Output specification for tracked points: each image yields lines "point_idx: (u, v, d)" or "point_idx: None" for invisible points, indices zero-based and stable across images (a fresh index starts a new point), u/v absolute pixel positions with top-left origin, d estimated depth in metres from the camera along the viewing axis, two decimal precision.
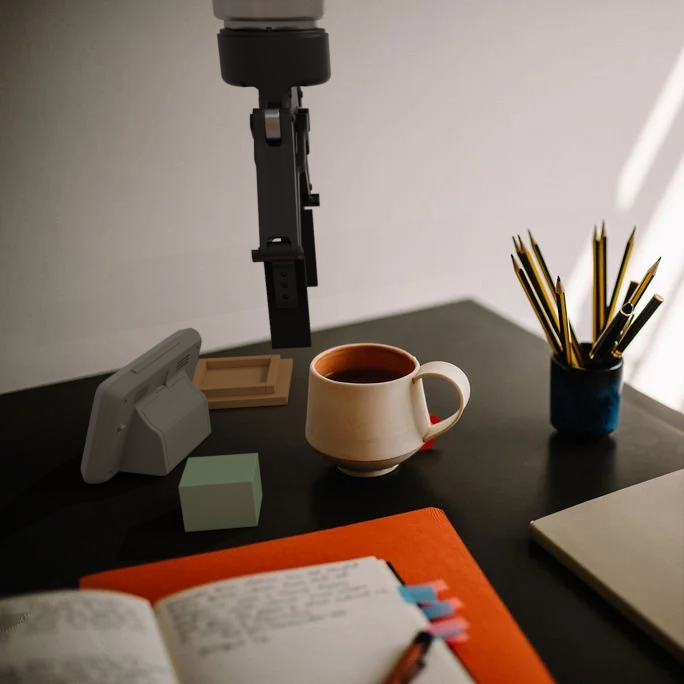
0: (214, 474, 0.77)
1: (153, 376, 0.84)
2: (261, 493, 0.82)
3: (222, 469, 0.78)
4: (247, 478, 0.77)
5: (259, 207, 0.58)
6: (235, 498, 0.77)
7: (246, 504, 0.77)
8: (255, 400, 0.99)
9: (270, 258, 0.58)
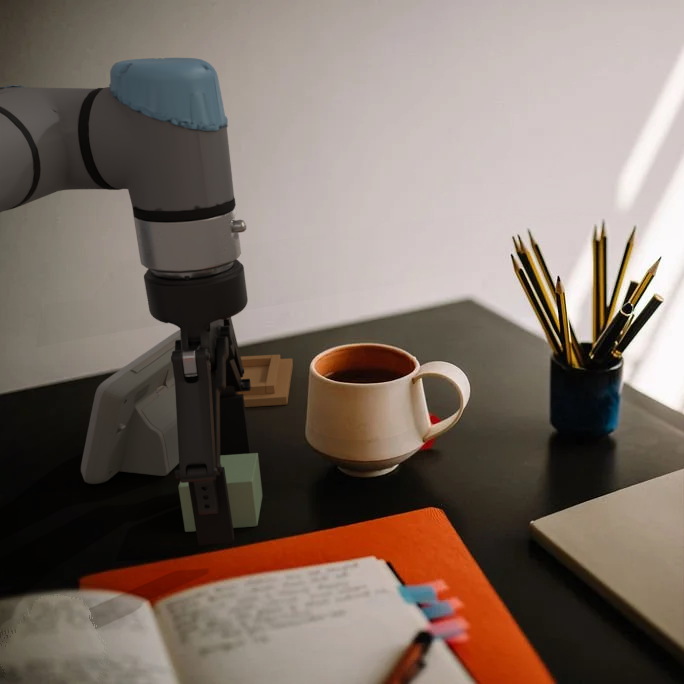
0: None
1: (153, 376, 0.84)
2: (261, 493, 0.82)
3: None
4: (247, 478, 0.77)
5: (179, 438, 0.67)
6: (235, 498, 0.77)
7: (246, 504, 0.77)
8: (255, 400, 0.99)
9: (189, 481, 0.67)
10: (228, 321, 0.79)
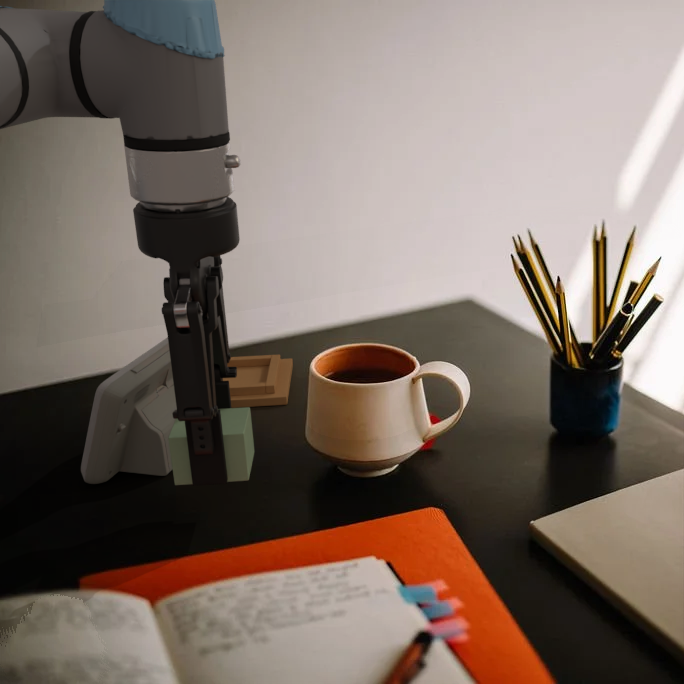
0: None
1: (153, 376, 0.84)
2: (253, 449, 0.80)
3: None
4: (239, 431, 0.75)
5: (175, 384, 0.68)
6: (226, 451, 0.75)
7: (238, 458, 0.75)
8: (255, 400, 0.99)
9: (186, 420, 0.70)
10: None
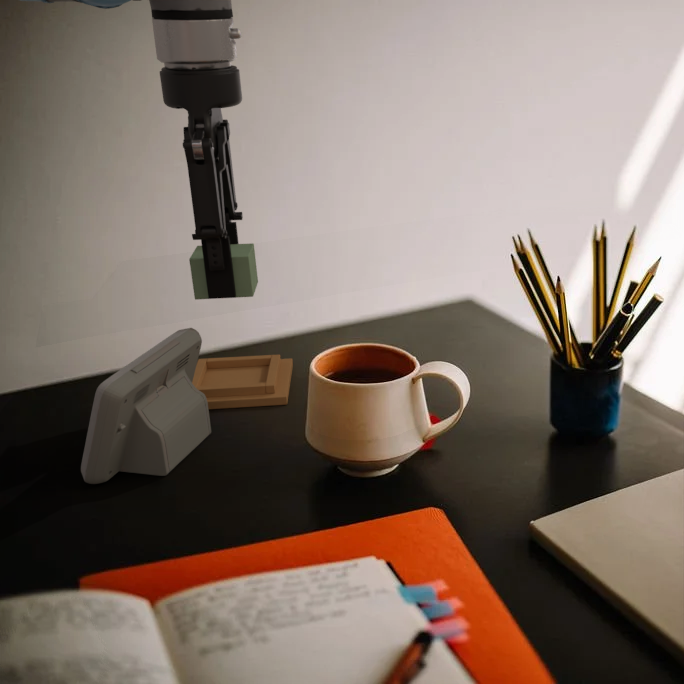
0: None
1: (153, 376, 0.84)
2: (257, 278, 1.00)
3: None
4: (245, 255, 0.95)
5: (193, 206, 0.88)
6: (235, 271, 0.95)
7: (244, 277, 0.95)
8: (255, 400, 0.99)
9: (203, 236, 0.90)
10: None
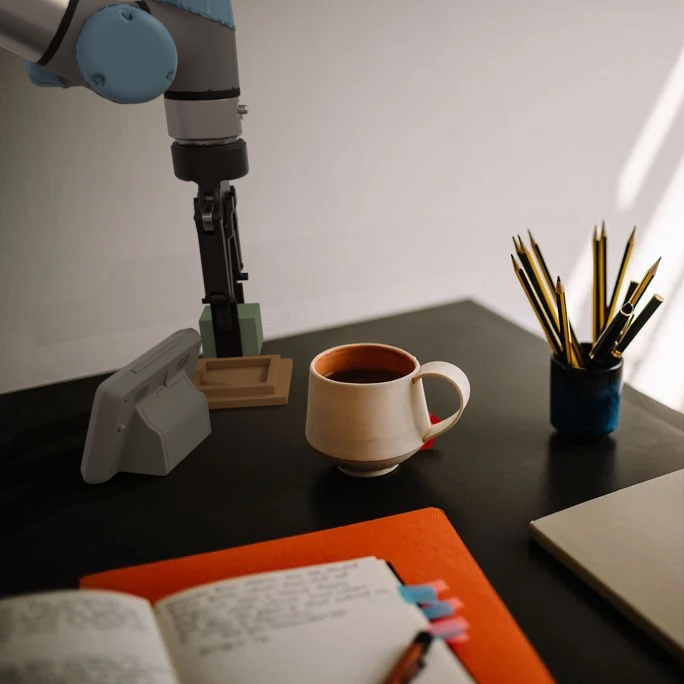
0: None
1: (153, 376, 0.84)
2: (262, 335, 1.04)
3: None
4: (251, 316, 0.99)
5: (203, 274, 0.93)
6: (242, 332, 0.99)
7: (251, 337, 1.00)
8: (255, 400, 0.99)
9: (212, 302, 0.94)
10: None
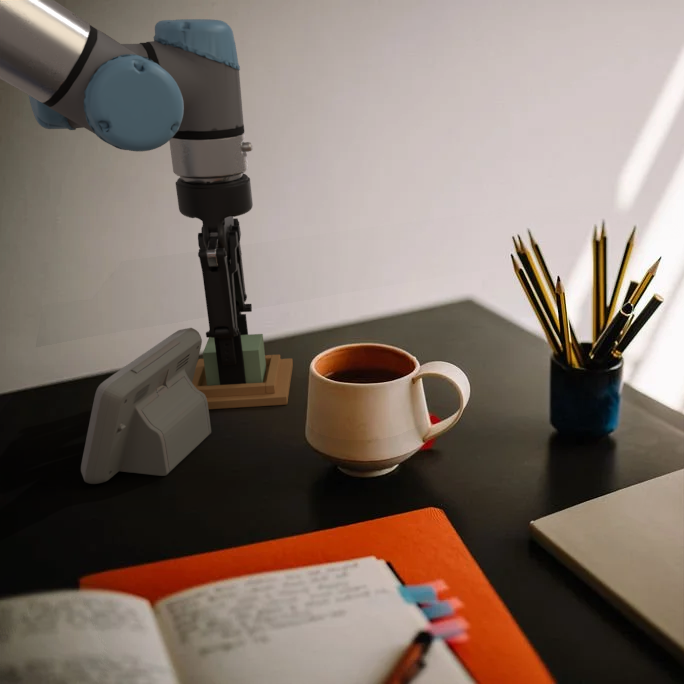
0: None
1: (154, 376, 0.84)
2: (265, 366, 1.06)
3: None
4: (255, 348, 1.01)
5: (208, 309, 0.94)
6: (245, 363, 1.01)
7: (254, 369, 1.01)
8: (255, 400, 0.99)
9: (216, 336, 0.95)
10: None
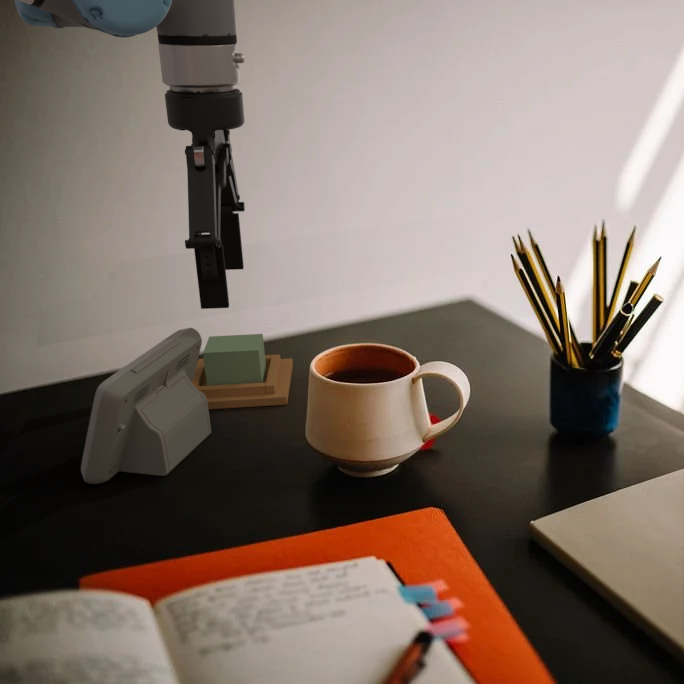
0: (229, 346, 1.01)
1: (153, 376, 0.84)
2: (265, 366, 1.06)
3: (235, 343, 1.02)
4: (255, 348, 1.01)
5: (189, 211, 0.87)
6: (245, 363, 1.01)
7: (254, 368, 1.01)
8: (255, 400, 0.99)
9: (196, 245, 0.88)
10: None
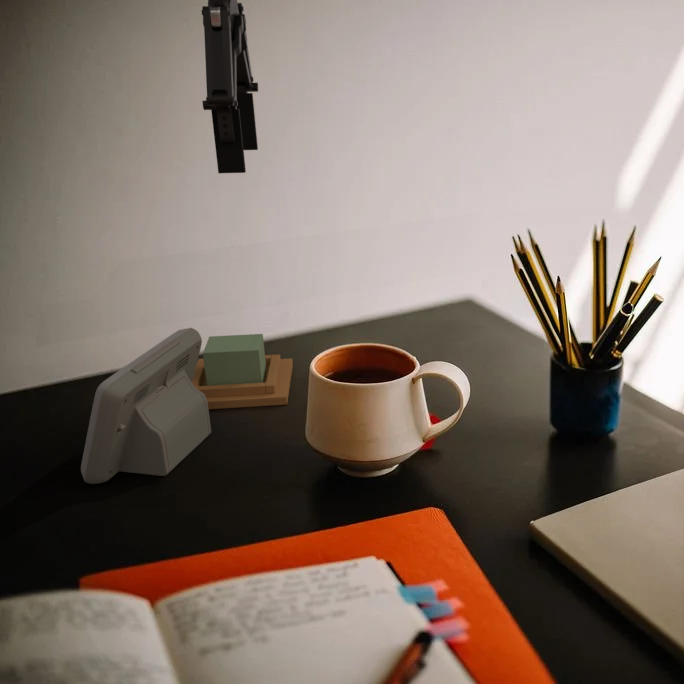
0: (229, 346, 1.01)
1: (153, 376, 0.84)
2: (265, 366, 1.06)
3: (235, 343, 1.02)
4: (255, 348, 1.01)
5: (207, 70, 0.89)
6: (245, 363, 1.01)
7: (254, 368, 1.01)
8: (255, 400, 0.99)
9: (214, 104, 0.90)
10: None
